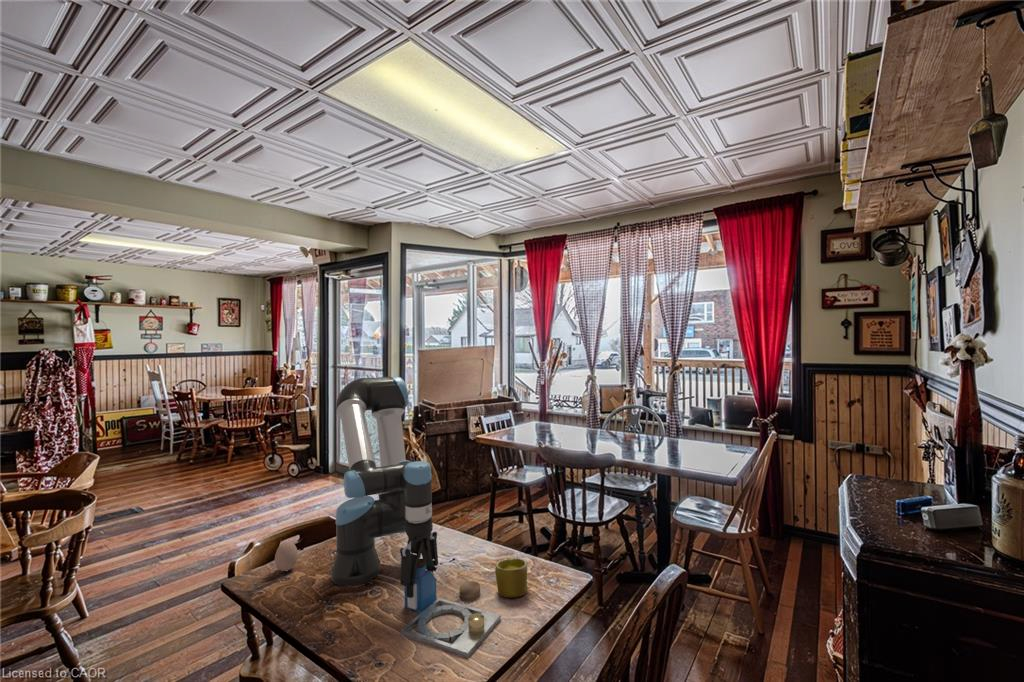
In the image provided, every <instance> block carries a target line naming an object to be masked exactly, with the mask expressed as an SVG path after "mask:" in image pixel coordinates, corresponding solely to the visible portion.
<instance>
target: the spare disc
mask: <svg viewBox="0 0 1024 682" xmlns="http://www.w3.org/2000/svg"><path fill="white" fill-rule="evenodd" d="M458 588H459V593H458V594H459V598H460V599H461V600H463V601H464V600H465V601H473V600H475V599H478V598H479V597H480V596H481V584H480V583H479V582H478V581H475V580H466V581H464V582H462V583H460V584H459V587H458Z"/></svg>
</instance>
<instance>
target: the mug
mask: <svg viewBox="0 0 1024 682" xmlns="http://www.w3.org/2000/svg"><path fill="white" fill-rule="evenodd" d="M495 578H496V585H497V591H498V594H500V596H501V597H504V598H507V599H511V598H512V599H513V598H517V597H521V596H524V595H526V594H527V591H528V564H527V562H526V561H525V560H524V559H523V558H516V556H509V557H508V558H506V559H502V560H499V561H497V563H496V564H495Z"/></svg>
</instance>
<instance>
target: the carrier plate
mask: <svg viewBox="0 0 1024 682" xmlns="http://www.w3.org/2000/svg"><path fill="white" fill-rule="evenodd" d="M447 614H448V615H449V614H453V615H457V616H460V617H461V618H462V619H463V621H464V622H463V623H462V624H461V625H460V626H459V628H456V629H455V630H452V631H451V630H450V631H449V632H435V631H432V630H430V629H429V628H428V627H427V624H428V623H429V622H431V620H432V619H433V618H435V617H438V616H440V615H447ZM501 617H502V616H501V614H498V613H495V612H491V611H487V610H484V609H481V608H476V607H473V606H469V605H466V604H462V603H459V602H455V601H452V600H448V599H444V598H441V597H438V598H436V600H435V601H434V602H433V603H432V604H431V605H429V606H428V607H427V608H426V609H425V610H424V611H422V612H421V613H420V612H419V614H418V615H416V616H415V617H414V618H413V619H412V620H410V621H409V623H407V624H406V625H405V626H403V627H402V628H401V629H400V636H402V637H405V638H408V639H411V640H414V641H416V642H420V643H422V644H425V645H428V646H431V647H434V648H436V649H440V650H442V651H444V652H445V651H446V652H448V653H451V654H455V655H457V656H460V657H463V658H466V659H469V658H470V656H471V655H473V653H474V651H476V650H477V648H478V647H479V646H480V644H482V643H483V641H484V640H485V639H486V638H487V637H488V635H489V634H490V633H491V632H492V631H493V630H494V628H495V627H496V626H497V624H499V622H500V621H501V619H502V618H501ZM415 627H416V631H417V632H416V631H413V630H412V629H414V628H415Z"/></svg>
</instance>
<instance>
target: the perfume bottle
mask: <svg viewBox="0 0 1024 682" xmlns="http://www.w3.org/2000/svg"><path fill="white" fill-rule="evenodd" d="M426 570H427V569H426V564H425V559H423V558H419V560H418V566H417V572H416V578H415V584H417V609H412V608H409V607H408V598H407V595H406V594H407V593H406V586H403V588H404V607H405V608H408V609H410V610H412V611H415V612H418V613H419V614H420V613H421V612H422V611H424V610H425V609H426V608H427V607H428V606H429V605H431V604H432V603H433V602H434V601H435V600H436V599H437V579H436V578H435V575H434V574H433V575H432V573H431V572H430V571H426Z"/></svg>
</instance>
